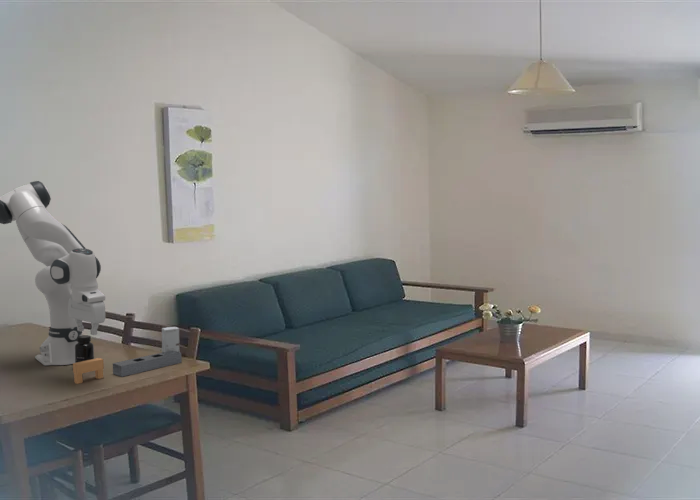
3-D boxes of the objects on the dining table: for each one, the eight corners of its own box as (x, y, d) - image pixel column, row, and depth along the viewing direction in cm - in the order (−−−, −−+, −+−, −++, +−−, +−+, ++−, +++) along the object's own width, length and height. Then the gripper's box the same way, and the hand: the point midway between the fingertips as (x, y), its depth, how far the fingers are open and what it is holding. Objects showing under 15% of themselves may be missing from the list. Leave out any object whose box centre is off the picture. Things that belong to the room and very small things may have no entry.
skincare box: (165, 359, 285) (164, 329, 283) (161, 357, 288) (160, 328, 287) (180, 357, 288) (179, 328, 287) (176, 355, 292) (175, 326, 290)
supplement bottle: (76, 370, 270) (75, 339, 269) (74, 366, 276) (73, 335, 275) (95, 368, 273) (94, 337, 272) (93, 363, 279) (91, 333, 278)
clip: (73, 382, 254) (72, 363, 253) (99, 376, 261) (99, 357, 261) (78, 384, 252) (77, 364, 251) (104, 378, 259) (103, 359, 259)
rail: (113, 373, 265) (112, 363, 264) (172, 360, 284) (172, 350, 284) (121, 376, 261) (121, 366, 260) (181, 362, 280) (181, 352, 280)
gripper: (62, 292, 258) (64, 330, 259) (90, 298, 244) (93, 338, 246) (79, 290, 263) (81, 327, 264) (107, 296, 249) (110, 335, 250)
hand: (87, 332), depth 255 cm, fingers open, 8 cm apart
